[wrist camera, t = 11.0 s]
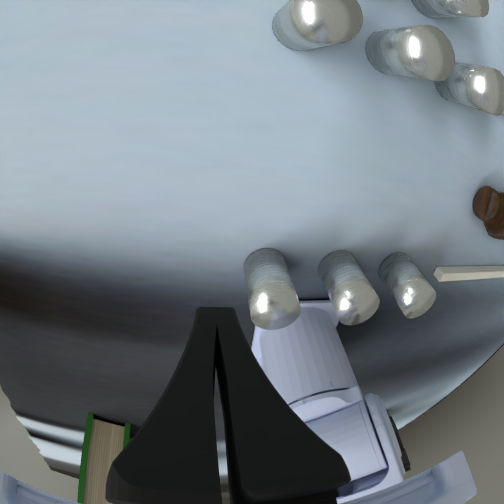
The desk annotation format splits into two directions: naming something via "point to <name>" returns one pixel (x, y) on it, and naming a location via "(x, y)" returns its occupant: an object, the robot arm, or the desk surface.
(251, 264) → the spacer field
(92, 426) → the hardback book
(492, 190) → the bolt
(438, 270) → the tray rim
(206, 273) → the desk surface
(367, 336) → the desk surface
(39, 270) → the desk surface
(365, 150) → the desk surface
